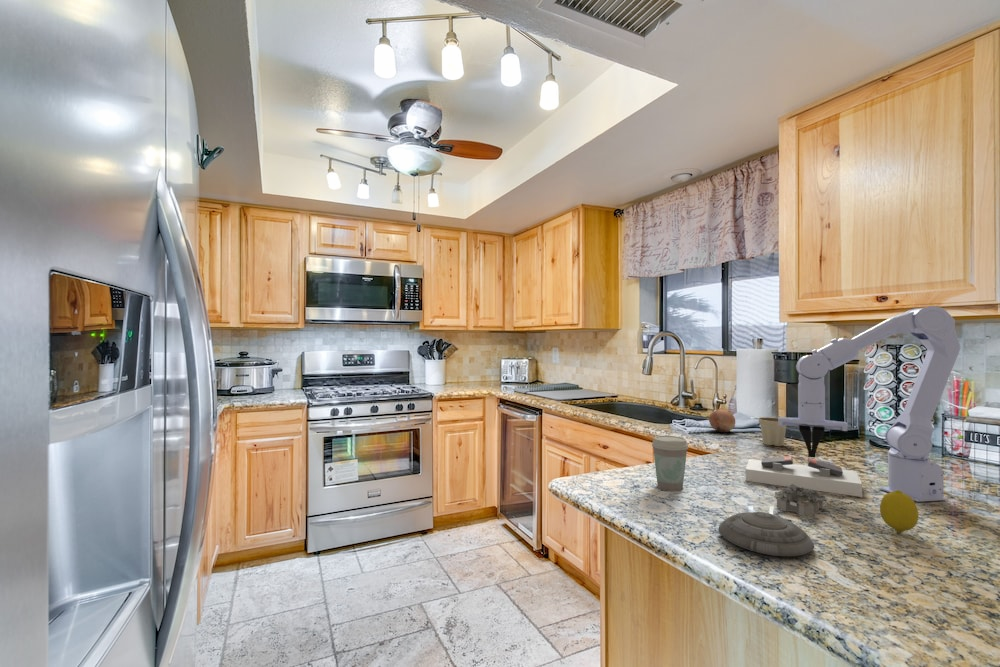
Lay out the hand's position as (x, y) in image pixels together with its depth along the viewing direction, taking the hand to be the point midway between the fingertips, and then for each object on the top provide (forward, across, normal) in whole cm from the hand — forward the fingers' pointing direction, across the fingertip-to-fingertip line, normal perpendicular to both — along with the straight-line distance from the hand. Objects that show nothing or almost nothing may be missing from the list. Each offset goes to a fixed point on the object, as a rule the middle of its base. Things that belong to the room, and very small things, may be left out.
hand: (811, 456), depth 120 cm
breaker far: (+3, -7, 0) cm, 8 cm away
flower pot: (+7, -10, +46) cm, 48 cm away
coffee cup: (+7, -30, -22) cm, 38 cm away
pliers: (+7, +4, +20) cm, 22 cm away
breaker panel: (+7, -2, 0) cm, 7 cm away
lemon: (+7, +13, -28) cm, 31 cm away
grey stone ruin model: (+7, -3, -21) cm, 23 cm away
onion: (+7, -28, +61) cm, 67 cm away
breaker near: (+3, +3, 0) cm, 4 cm away
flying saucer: (+7, -8, -46) cm, 47 cm away
